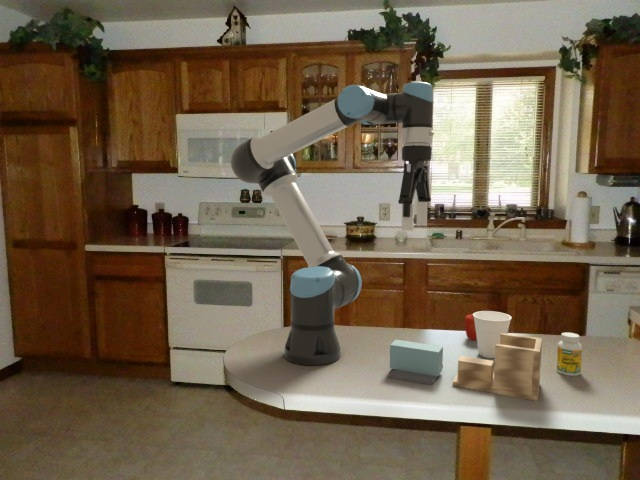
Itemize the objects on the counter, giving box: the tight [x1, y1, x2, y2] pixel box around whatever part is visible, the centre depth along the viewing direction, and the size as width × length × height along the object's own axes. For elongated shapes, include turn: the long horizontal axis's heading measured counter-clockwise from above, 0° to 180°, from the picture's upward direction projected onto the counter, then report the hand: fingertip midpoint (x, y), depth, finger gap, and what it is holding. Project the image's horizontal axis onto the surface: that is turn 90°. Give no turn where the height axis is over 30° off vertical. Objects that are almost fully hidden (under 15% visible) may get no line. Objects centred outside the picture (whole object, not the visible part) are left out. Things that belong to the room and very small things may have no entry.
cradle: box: [452, 333, 543, 402], centre depth 115 cm, size 18×10×11 cm, turn 64°
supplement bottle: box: [556, 332, 583, 377], centre depth 123 cm, size 5×5×10 cm
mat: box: [389, 364, 444, 386], centre depth 123 cm, size 10×12×1 cm
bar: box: [389, 339, 444, 377], centre depth 123 cm, size 12×4×6 cm, turn 64°
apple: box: [464, 313, 477, 342], centre depth 148 cm, size 6×6×8 cm
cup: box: [472, 310, 512, 359], centre depth 135 cm, size 10×10×11 cm
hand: (414, 227), depth 131 cm, fingers open, 13 cm apart
